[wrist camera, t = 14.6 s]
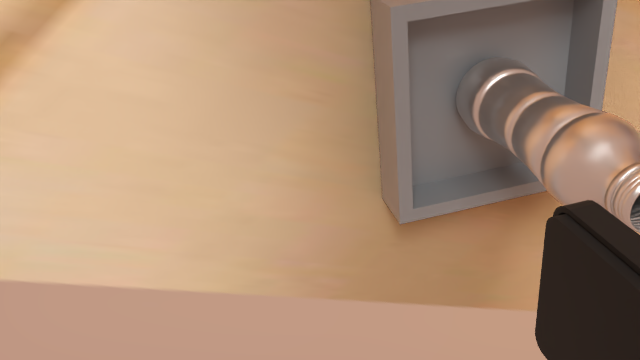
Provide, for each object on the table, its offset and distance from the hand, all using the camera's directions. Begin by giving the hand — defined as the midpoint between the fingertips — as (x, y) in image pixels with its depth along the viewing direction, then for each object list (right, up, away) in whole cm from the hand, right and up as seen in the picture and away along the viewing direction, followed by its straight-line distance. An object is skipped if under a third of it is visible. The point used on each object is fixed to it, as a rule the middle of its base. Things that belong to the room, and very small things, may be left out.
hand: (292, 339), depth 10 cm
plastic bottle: (+14, +10, +40) cm, 43 cm away
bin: (+14, +11, +41) cm, 44 cm away
